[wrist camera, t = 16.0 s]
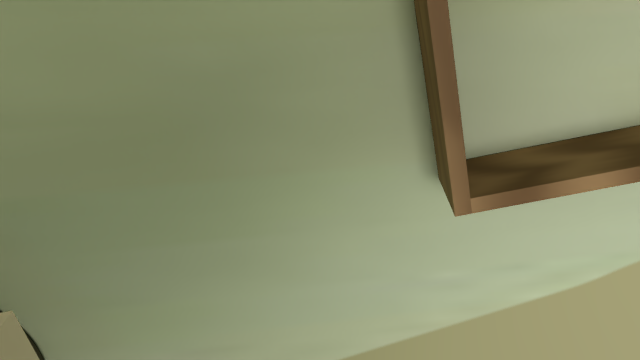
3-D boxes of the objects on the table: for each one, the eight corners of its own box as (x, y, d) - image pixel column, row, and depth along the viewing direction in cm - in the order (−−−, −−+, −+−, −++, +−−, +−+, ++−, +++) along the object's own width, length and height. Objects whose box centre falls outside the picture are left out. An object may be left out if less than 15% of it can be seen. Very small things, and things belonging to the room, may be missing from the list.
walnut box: (438, 178, 40) (455, 216, 36) (402, -78, 33) (417, -71, 29) (784, 111, 38) (847, 142, 34) (824, -176, 31) (910, -184, 27)
